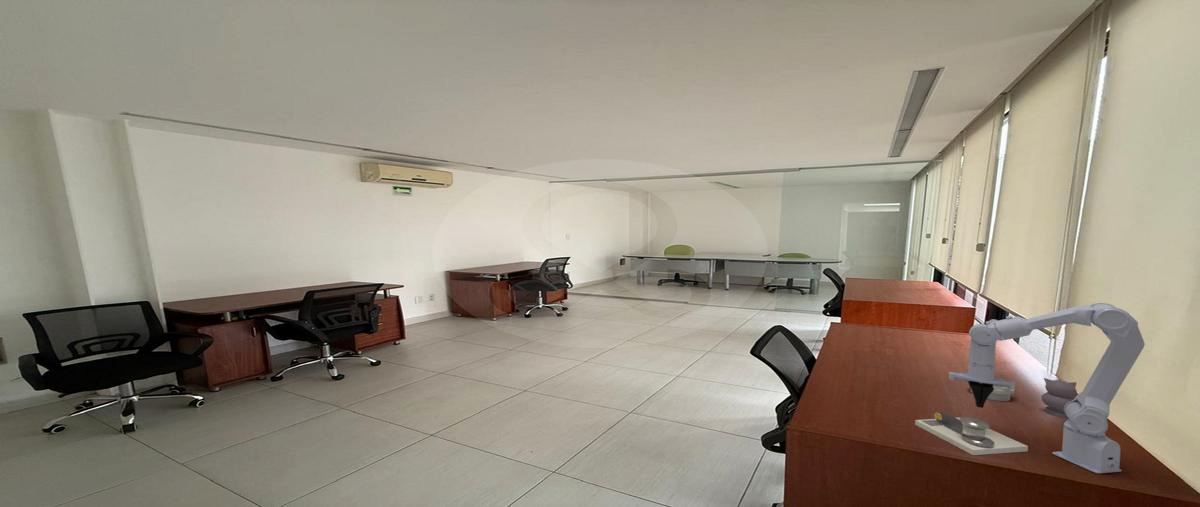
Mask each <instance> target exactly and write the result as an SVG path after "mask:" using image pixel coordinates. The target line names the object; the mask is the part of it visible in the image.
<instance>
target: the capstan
mask: <svg viewBox="0 0 1200 507" xmlns="http://www.w3.org/2000/svg"><path fill="white" fill-rule="evenodd" d="M957 418H958V417H954V416H952V415H951V414H948V413H946V412H944V411H940V410H938V411H935V413H934V419H936V420H937V421H939V422H941V423H943V424H945V425H947V426H949V427H951V428H953V429H954V430H956V431H958V432H960V433H962V435H961V437H962V438H963V439H964V440H966V441H968V442H970V443H972V444H975V445H979V446H984V447H993V446H994V441H992V440H991V439H989V438H987V437H985V433H986V429H990V424H989V423H988V422H986V421H984V420H983V419H980V418H976V417H969V416H961V417H959V418H960V420H959V419H957Z"/></svg>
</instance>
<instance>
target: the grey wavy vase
mask: <svg viewBox="0 0 1200 507" xmlns="http://www.w3.org/2000/svg"><path fill="white" fill-rule="evenodd" d="M1043 380H1044V382H1045V390H1046V392H1044V393H1043V394H1042V395H1041V397H1040V398H1041V402H1042V403H1044V405H1045V406H1046V407H1045V413H1046V414H1049V415H1051V416H1054V417H1057V418H1062V419H1067V420H1068V419H1069V418H1068V417H1067V416H1066V414H1065V412H1064V406H1065V405H1066V404H1067V403H1068V402H1071V401H1072V400H1074V399H1075V397H1076V396H1077V395H1078V392H1077V389H1076V386H1077V382H1076V381H1075V382H1073V381H1072V382H1071V381H1070V382H1067V381H1064V380H1059V379H1053V380H1052V379H1049V378H1046V377H1043Z"/></svg>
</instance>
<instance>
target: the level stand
mask: <svg viewBox="0 0 1200 507" xmlns="http://www.w3.org/2000/svg"><path fill="white" fill-rule="evenodd" d="M956 418H957V419H959V420H960V417H956ZM914 425H915V426H917V427H919V428H920V429H923V430H924V431H927V432H928V433H930V434H932V435H934V436H936V437H938V438H939V439H941V440H943V441H946V442H947V443H948V444H951V445H953V446H955V447H956V448H959V449H961V451H965V452H966V453H967V454H970V455H972V456H980V455H981V456H983V455H995V454H996V455H998V454H1010V453H1021V452H1022V453H1023V452H1026V453H1027V452H1028V451H1029V446H1028V445H1026V444H1024V443H1022V442H1020V441H1017V440H1015V439H1013V438H1011V437H1009V436H1006V435H1004V434H1002V433H999V432H998V431H995V430H993V429H991V428H989V429H986V433H985V437H987V438H989V439H991V440H992V441H994V446H993V447H984V446H979V445H975V444H972V443H970V442H968V441H966V440H964V439H963V438H962V437H961V435H962V433H960V432H958V431H956V430H954V429H953V428H951V427H949V426H947V425H945V424H943V423H941V422H939V421H937V420H936V418H932V419H931V418H929V419H928V418H927V419H915V420H914Z"/></svg>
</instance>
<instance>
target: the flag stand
mask: <svg viewBox="0 0 1200 507" xmlns="http://www.w3.org/2000/svg"><path fill="white" fill-rule="evenodd" d="M989 321H990V323H991V322H995V321H999V320H998V319H993V318H992V319H990V320H989ZM993 324H994V323H993ZM996 344H997V342H996V343H995V344H994V350H995V351H996V346H997V345H996ZM994 367H996V362H995V363H994ZM967 384H968V386H969V387H970V385H969V383H968V382H967ZM993 388H994V390H993V392H992V393H991V394H990V395H989V396H988V398H987V399H988V400H991V401H998V402H1008V401H1011V397H1012V396H1011V395H1014V394H1015V393H1016V388H1015V389H1009V388H1005V387H999V386H993ZM970 392H971V394H973V392H972V390H971V389H970ZM987 399H986V400H987Z"/></svg>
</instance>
